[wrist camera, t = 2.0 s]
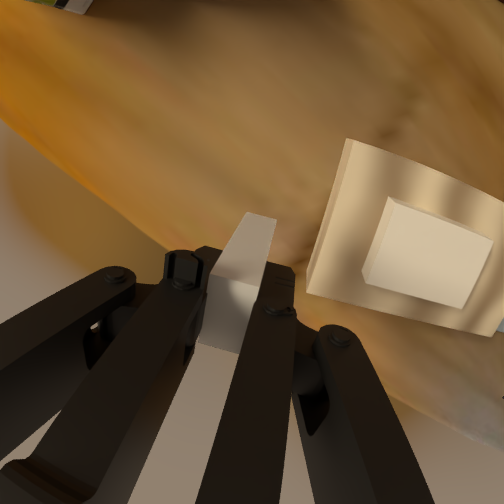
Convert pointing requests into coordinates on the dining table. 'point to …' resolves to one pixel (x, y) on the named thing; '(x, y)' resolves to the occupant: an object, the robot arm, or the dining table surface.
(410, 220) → the cream rectangular block
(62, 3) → the tea box
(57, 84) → the dining table surface
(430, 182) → the riser
